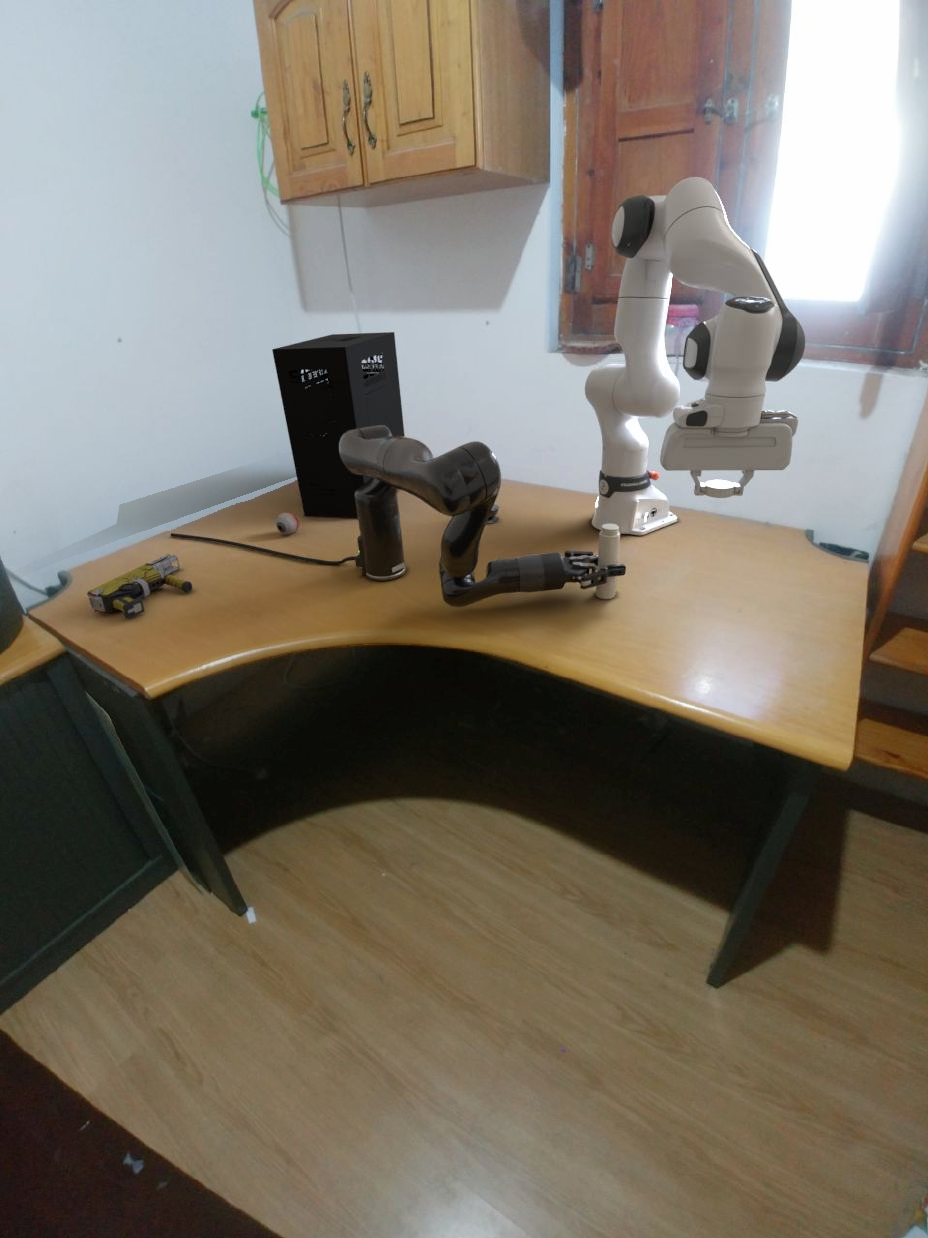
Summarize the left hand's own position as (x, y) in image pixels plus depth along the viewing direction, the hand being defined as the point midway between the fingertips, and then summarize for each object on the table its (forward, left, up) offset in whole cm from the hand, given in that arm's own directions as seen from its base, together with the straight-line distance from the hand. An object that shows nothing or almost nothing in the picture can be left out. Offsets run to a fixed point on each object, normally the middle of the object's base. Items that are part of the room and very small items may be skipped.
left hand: (620, 564), depth 123 cm
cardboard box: (-85, +49, -7) cm, 98 cm away
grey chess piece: (-39, +36, -7) cm, 53 cm away
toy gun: (-100, -23, -7) cm, 103 cm away
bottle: (-2, -1, -7) cm, 7 cm away
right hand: (+16, -7, +18) cm, 25 cm away
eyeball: (-90, +15, -7) cm, 91 cm away
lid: (+16, -7, +19) cm, 26 cm away
